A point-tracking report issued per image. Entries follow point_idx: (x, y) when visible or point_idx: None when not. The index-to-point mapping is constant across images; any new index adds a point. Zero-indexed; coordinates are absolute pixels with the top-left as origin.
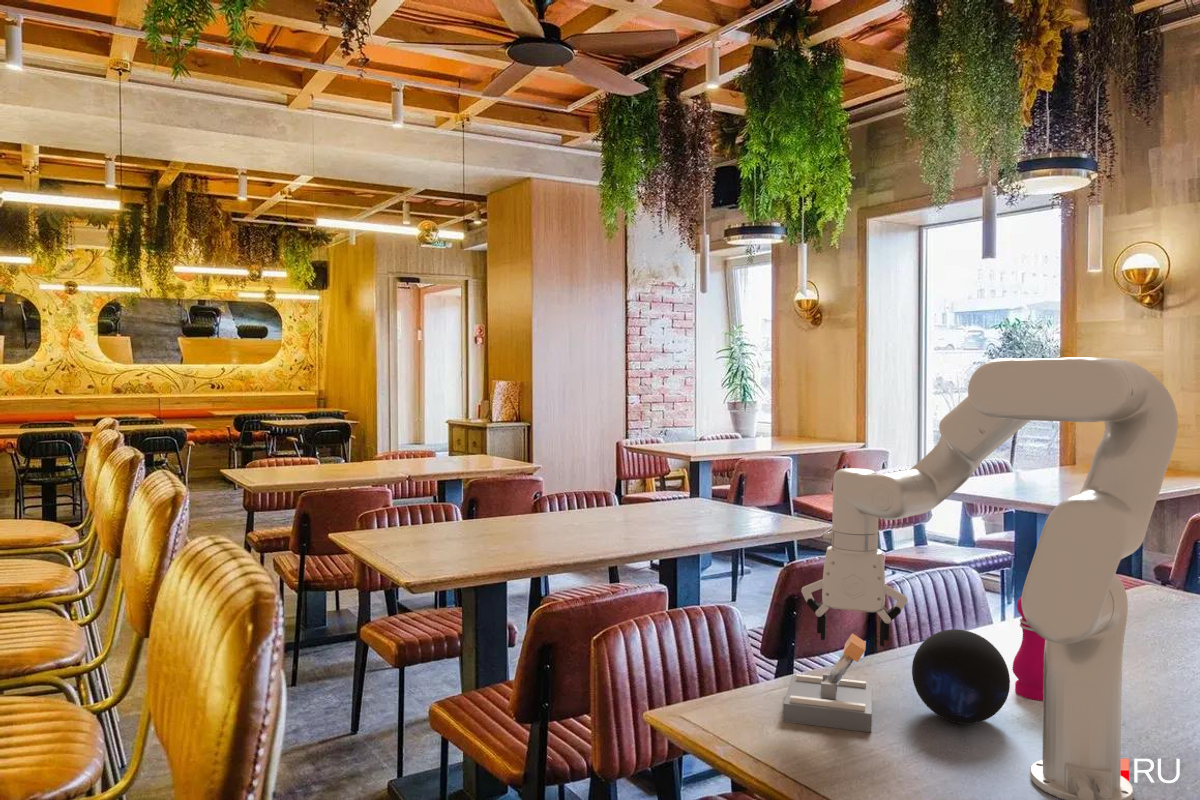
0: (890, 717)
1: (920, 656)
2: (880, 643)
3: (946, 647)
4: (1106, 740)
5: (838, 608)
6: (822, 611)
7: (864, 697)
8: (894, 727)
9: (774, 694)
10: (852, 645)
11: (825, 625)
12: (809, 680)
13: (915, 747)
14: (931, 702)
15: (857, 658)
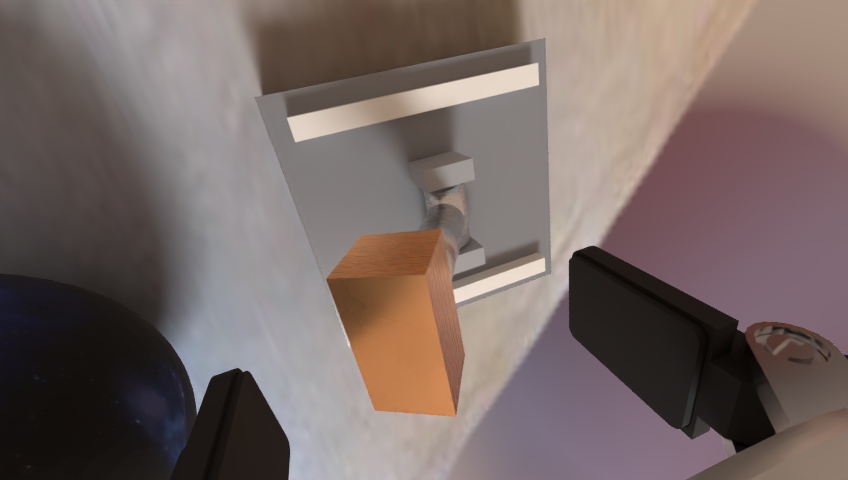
0: (260, 248)
1: (32, 462)
2: (237, 379)
3: None
4: None
5: (772, 450)
6: (791, 370)
7: (334, 240)
8: (216, 181)
9: (557, 220)
10: (409, 265)
11: (635, 318)
12: (507, 265)
13: (62, 35)
14: (60, 285)
15: (364, 243)
